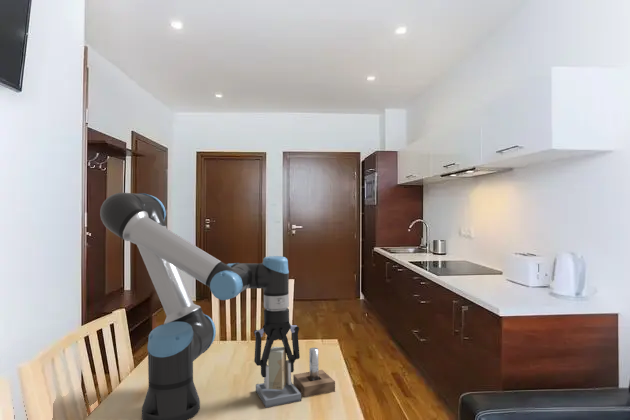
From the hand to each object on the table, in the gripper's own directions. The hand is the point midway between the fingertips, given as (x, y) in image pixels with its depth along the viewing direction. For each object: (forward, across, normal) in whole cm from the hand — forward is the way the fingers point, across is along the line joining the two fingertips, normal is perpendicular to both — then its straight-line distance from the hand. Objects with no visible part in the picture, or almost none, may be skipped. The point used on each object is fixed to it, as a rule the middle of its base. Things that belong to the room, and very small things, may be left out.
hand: (277, 384), depth 123 cm
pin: (+3, +12, 0) cm, 12 cm away
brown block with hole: (+3, +12, +1) cm, 12 cm away
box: (+1, 0, 0) cm, 1 cm away
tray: (+3, 0, 0) cm, 3 cm away
